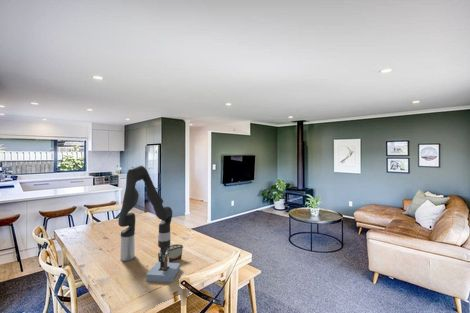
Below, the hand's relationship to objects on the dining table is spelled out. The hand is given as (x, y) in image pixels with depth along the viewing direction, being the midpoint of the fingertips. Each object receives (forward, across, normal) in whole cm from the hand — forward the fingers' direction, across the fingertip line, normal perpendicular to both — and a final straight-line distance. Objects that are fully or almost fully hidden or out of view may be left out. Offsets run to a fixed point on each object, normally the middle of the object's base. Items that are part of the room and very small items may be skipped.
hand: (164, 264), depth 148 cm
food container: (+7, -21, -1) cm, 22 cm away
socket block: (+6, 0, 0) cm, 6 cm away
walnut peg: (+6, 0, 0) cm, 6 cm away
